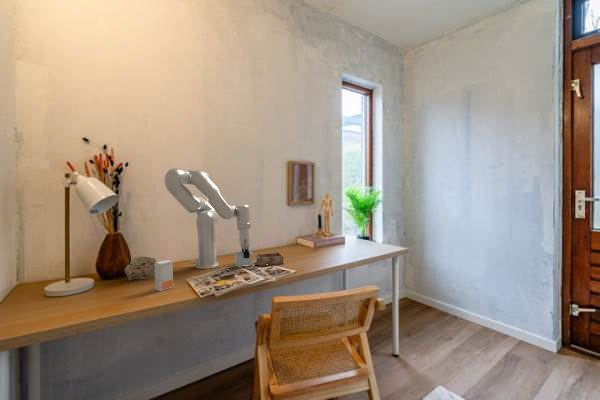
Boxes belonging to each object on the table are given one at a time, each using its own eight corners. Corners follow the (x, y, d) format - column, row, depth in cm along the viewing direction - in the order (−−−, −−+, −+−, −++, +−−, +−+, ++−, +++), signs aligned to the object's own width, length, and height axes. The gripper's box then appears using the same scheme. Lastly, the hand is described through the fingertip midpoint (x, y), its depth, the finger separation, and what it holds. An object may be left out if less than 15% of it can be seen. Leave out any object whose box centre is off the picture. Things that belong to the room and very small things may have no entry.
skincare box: (160, 291, 116) (159, 263, 116) (155, 290, 119) (154, 262, 118) (173, 287, 121) (173, 260, 121) (168, 285, 124) (167, 259, 123)
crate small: (236, 267, 152) (236, 254, 152) (235, 264, 158) (235, 252, 158) (252, 265, 155) (252, 253, 155) (251, 263, 161) (250, 251, 161)
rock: (163, 278, 137) (157, 261, 134) (130, 291, 129) (123, 272, 127) (157, 265, 154) (151, 249, 151) (127, 276, 146) (121, 259, 143)
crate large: (259, 266, 154) (259, 258, 154) (256, 261, 164) (256, 254, 164) (283, 263, 158) (283, 256, 158) (279, 259, 168) (279, 252, 168)
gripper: (236, 225, 163) (237, 253, 164) (238, 229, 147) (240, 260, 147) (248, 224, 165) (250, 252, 166) (252, 227, 149) (254, 258, 149)
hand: (245, 256), depth 157 cm, fingers open, 9 cm apart
